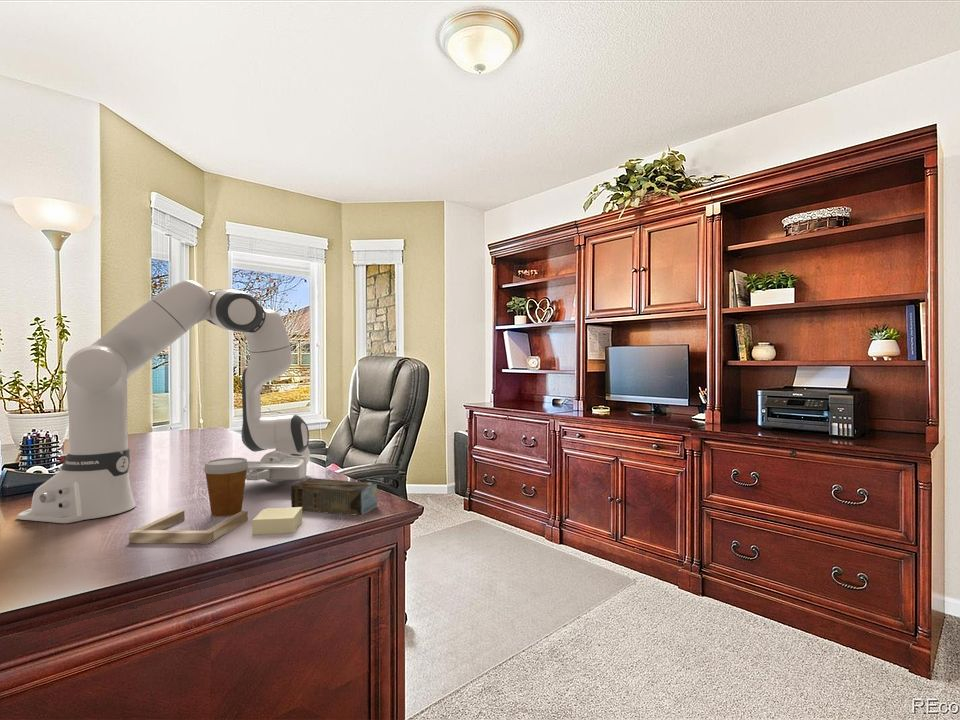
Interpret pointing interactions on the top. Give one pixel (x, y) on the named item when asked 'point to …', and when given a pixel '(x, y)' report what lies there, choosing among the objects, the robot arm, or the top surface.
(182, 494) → the top surface
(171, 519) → the frame
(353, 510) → the beverage carton
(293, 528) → the note block
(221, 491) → the disposable coffee cup
